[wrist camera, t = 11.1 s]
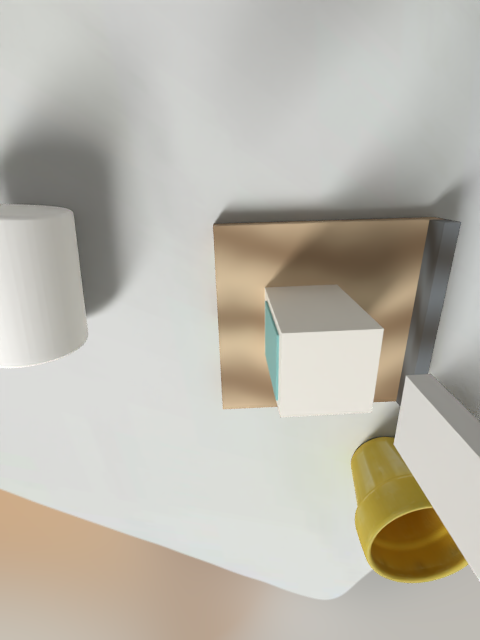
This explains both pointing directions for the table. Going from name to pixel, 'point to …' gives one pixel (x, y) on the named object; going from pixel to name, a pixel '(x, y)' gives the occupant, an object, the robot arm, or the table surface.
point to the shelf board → (329, 269)
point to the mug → (39, 286)
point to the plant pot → (399, 519)
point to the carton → (320, 351)
